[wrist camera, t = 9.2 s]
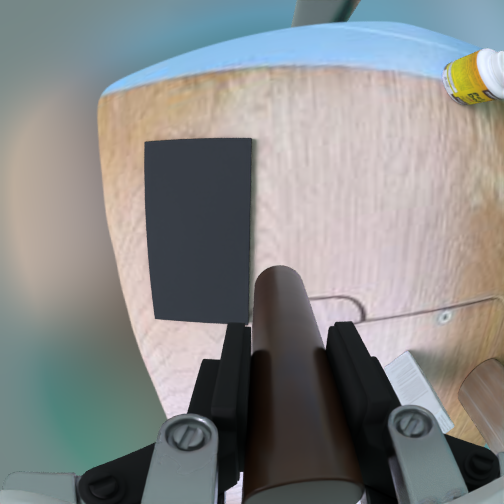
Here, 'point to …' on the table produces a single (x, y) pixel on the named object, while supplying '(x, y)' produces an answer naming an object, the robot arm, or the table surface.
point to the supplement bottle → (475, 77)
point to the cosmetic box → (416, 388)
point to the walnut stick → (294, 405)
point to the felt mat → (199, 228)
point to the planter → (486, 402)
